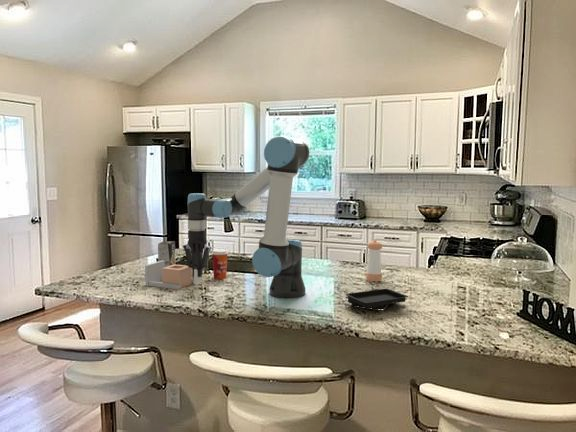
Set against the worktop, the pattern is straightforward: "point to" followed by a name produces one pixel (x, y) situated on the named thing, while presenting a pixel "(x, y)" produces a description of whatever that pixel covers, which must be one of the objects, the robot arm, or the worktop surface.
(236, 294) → the worktop surface
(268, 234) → the robot arm
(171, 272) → the block
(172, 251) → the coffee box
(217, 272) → the paper cup
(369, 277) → the pepper shaker
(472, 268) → the worktop surface
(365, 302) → the tray
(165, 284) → the mat with wall
